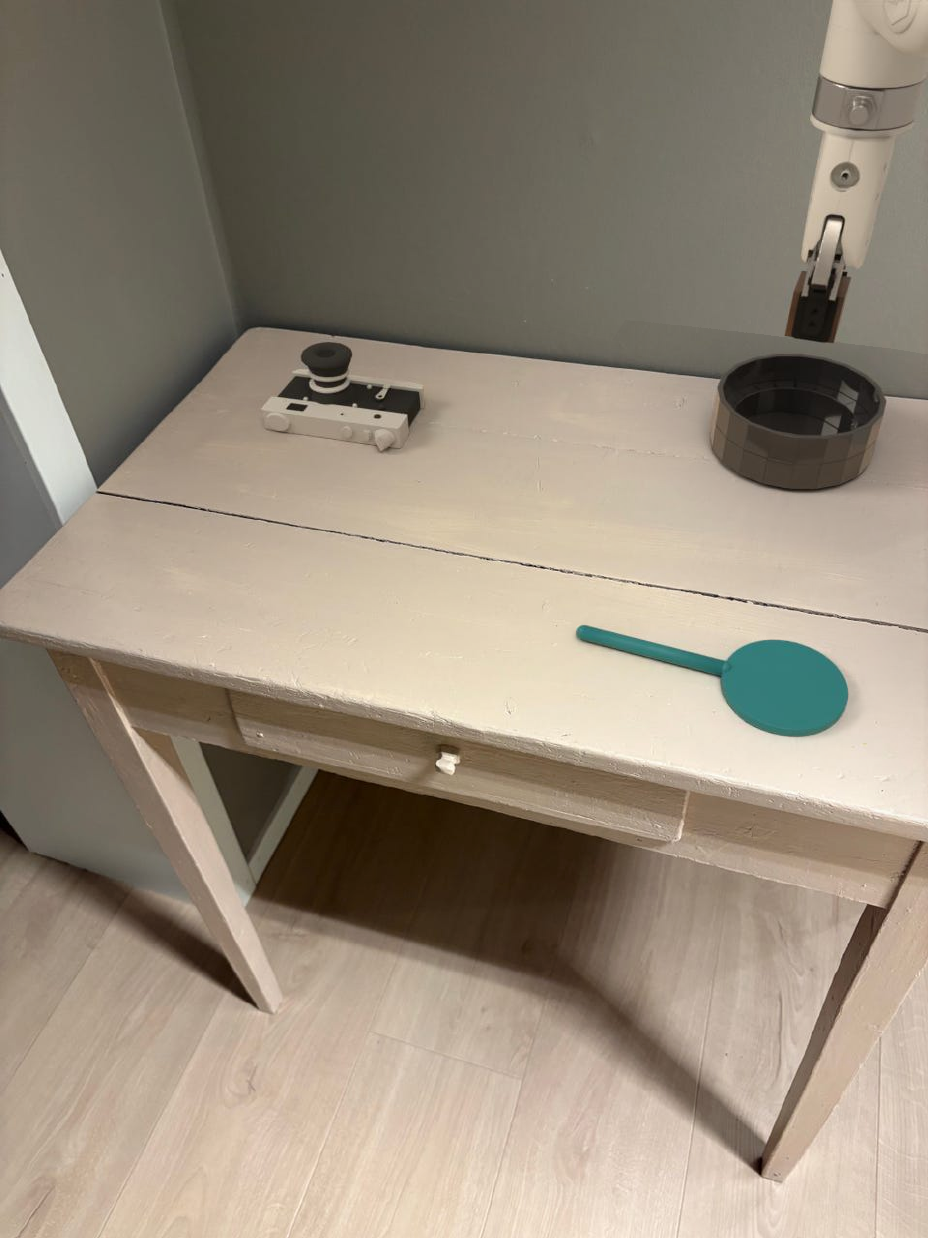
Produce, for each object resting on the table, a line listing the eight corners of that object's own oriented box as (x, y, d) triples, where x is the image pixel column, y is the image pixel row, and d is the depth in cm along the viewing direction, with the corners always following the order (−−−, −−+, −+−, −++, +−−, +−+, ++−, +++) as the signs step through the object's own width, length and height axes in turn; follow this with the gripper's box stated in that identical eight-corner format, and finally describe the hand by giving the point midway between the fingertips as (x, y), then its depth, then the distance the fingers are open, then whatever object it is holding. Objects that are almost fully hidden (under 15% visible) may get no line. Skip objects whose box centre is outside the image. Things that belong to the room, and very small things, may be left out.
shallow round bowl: (877, 421, 96) (893, 367, 92) (859, 507, 87) (875, 451, 82) (727, 395, 101) (736, 343, 97) (694, 474, 91) (702, 420, 87)
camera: (423, 343, 98) (388, 393, 91) (428, 404, 103) (395, 455, 96) (287, 328, 101) (244, 375, 95) (298, 387, 106) (258, 435, 100)
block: (840, 321, 86) (851, 276, 83) (833, 343, 83) (844, 297, 80) (792, 314, 87) (801, 269, 84) (784, 336, 85) (793, 290, 82)
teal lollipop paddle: (853, 664, 73) (857, 653, 72) (836, 751, 67) (840, 740, 66) (593, 599, 79) (594, 589, 79) (557, 674, 74) (558, 663, 73)
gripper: (907, 143, 66) (845, 379, 79) (927, 72, 77) (869, 290, 89) (795, 133, 68) (752, 364, 81) (830, 65, 79) (787, 279, 92)
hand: (814, 323), depth 85 cm, fingers closed on block, 4 cm apart
